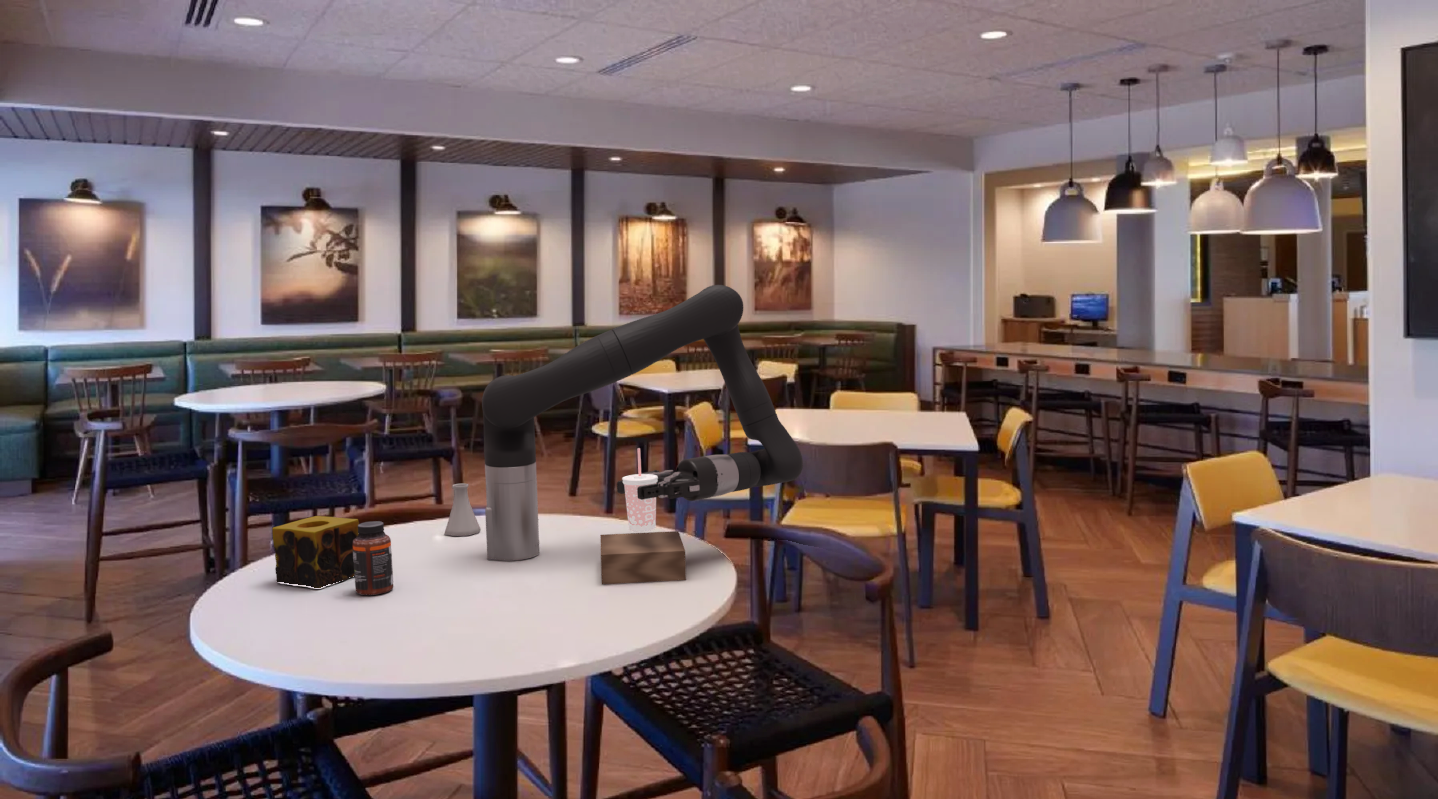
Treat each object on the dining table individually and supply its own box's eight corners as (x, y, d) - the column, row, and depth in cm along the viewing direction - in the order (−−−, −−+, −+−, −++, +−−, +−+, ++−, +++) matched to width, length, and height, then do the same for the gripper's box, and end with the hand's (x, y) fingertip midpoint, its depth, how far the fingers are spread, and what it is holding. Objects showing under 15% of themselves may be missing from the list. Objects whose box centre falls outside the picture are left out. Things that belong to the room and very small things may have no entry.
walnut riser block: (601, 584, 164) (600, 554, 163) (601, 562, 178) (600, 534, 177) (685, 579, 166) (685, 550, 165) (679, 558, 179) (678, 531, 179)
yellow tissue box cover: (364, 575, 172) (361, 519, 171) (318, 591, 163) (315, 532, 162) (321, 569, 177) (318, 514, 176) (274, 584, 168) (270, 526, 167)
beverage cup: (631, 534, 167) (627, 452, 165) (619, 526, 173) (616, 447, 171) (665, 529, 169) (661, 449, 168) (652, 522, 175) (649, 444, 173)
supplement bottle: (401, 587, 164) (397, 520, 163) (378, 598, 159) (374, 528, 158) (371, 584, 166) (367, 518, 165) (347, 595, 161) (343, 526, 159)
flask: (471, 537, 198) (469, 488, 197) (437, 536, 199) (435, 487, 198) (486, 529, 205) (484, 481, 204) (454, 528, 206) (451, 481, 205)
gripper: (683, 451, 184) (605, 463, 174) (731, 461, 173) (650, 474, 163) (685, 491, 185) (607, 505, 175) (732, 503, 173) (652, 519, 163)
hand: (628, 490), depth 169 cm, fingers closed on beverage cup, 6 cm apart
